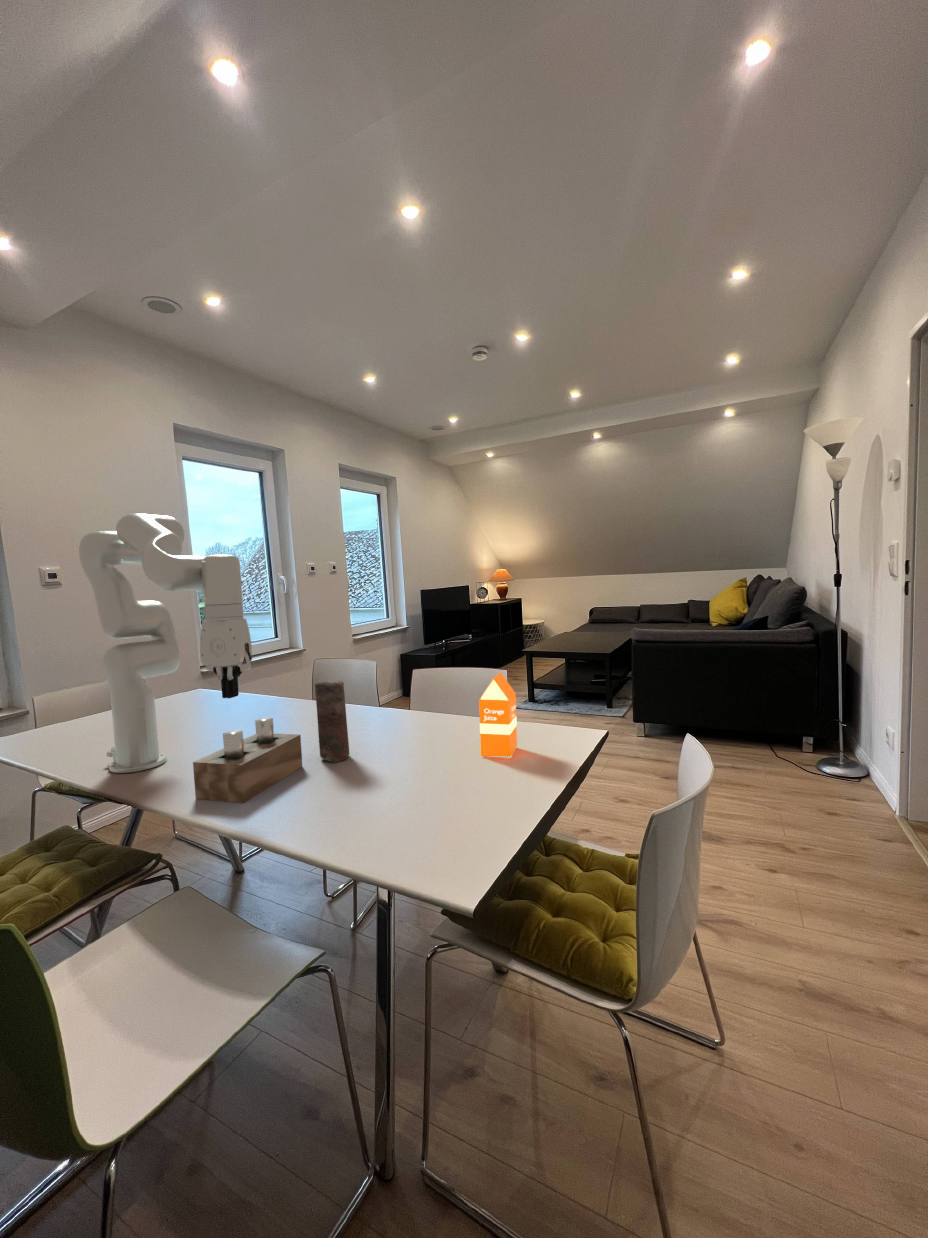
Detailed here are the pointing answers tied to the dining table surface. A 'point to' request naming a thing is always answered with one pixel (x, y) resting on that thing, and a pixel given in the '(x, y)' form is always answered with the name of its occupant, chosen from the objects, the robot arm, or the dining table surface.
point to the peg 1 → (233, 744)
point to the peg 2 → (264, 730)
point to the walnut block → (247, 769)
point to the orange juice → (498, 719)
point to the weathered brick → (332, 721)
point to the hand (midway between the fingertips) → (230, 696)
